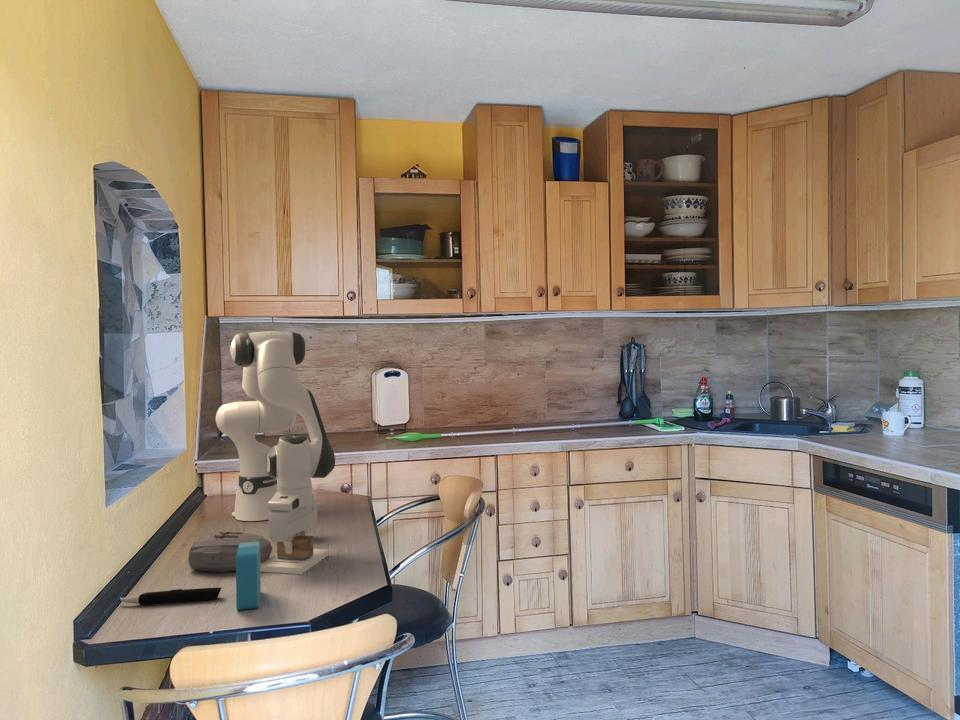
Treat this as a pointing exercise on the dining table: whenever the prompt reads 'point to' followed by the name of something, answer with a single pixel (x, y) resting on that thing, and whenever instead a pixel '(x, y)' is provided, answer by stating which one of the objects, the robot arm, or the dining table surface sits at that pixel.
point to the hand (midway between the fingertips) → (295, 549)
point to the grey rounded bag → (223, 551)
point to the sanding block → (297, 548)
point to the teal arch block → (248, 576)
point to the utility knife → (174, 596)
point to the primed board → (293, 563)
